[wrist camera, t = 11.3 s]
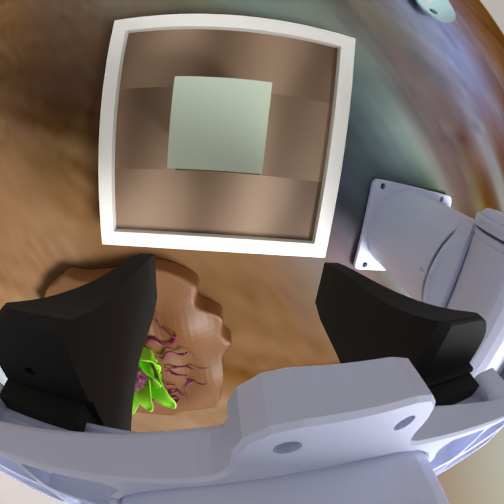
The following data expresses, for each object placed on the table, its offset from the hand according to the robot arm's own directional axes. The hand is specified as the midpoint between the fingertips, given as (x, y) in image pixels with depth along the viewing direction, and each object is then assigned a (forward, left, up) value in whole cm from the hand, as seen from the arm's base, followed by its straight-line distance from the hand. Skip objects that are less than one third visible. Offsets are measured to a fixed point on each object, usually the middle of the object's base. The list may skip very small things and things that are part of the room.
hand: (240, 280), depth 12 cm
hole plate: (+1, -6, -10) cm, 12 cm away
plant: (+9, +15, -11) cm, 20 cm away
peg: (+1, -6, -10) cm, 11 cm away
